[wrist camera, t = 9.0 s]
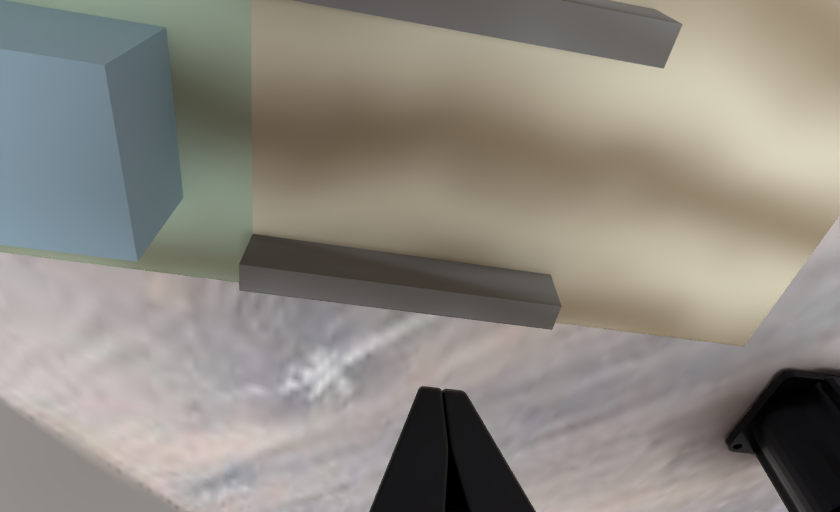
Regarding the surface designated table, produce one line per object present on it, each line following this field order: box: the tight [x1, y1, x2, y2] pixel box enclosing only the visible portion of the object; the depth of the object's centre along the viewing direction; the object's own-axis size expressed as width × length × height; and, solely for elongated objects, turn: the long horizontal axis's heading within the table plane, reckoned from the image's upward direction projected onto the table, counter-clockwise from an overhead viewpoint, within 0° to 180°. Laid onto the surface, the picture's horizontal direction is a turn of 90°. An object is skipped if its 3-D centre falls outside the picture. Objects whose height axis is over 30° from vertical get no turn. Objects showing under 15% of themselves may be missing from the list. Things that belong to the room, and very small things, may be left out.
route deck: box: [0, 0, 840, 346], centre depth 18 cm, size 14×42×4 cm, turn 80°
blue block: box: [0, 0, 183, 262], centre depth 16 cm, size 6×6×4 cm
